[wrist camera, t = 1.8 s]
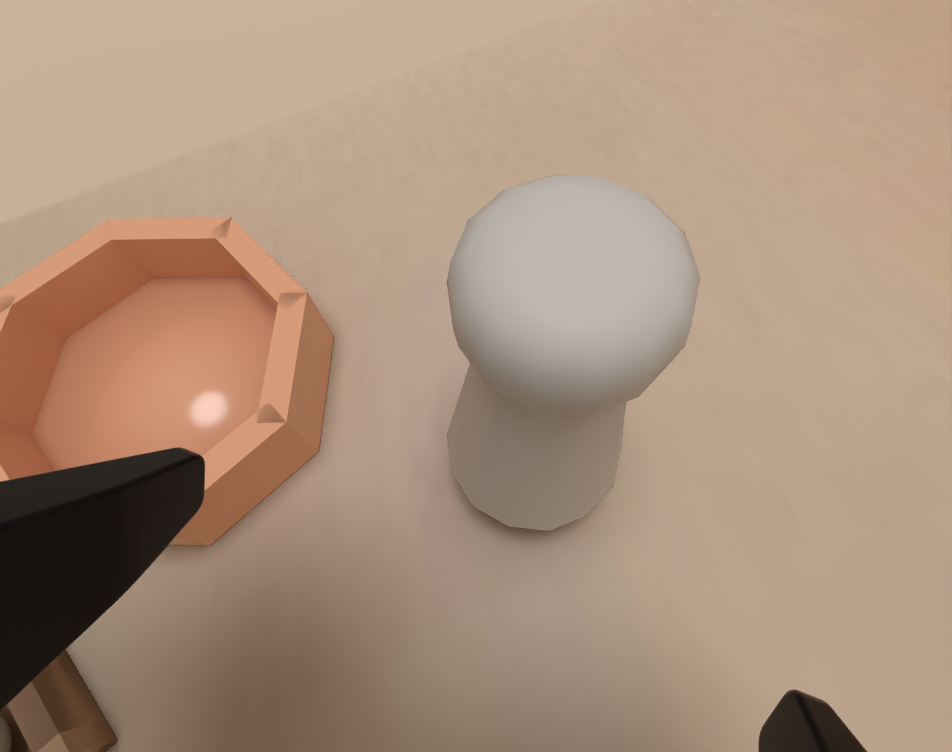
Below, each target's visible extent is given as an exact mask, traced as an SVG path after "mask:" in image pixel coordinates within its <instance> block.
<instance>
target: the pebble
mask: <svg viewBox="0 0 952 752" xmlns="http://www.w3.org/2000/svg"><path fill="white" fill-rule="evenodd" d="M11 747H12V735H11V730H10V727H9V725H8V723H7V722H6V720H5V719H4V718H3V716H2V715H0V752H11Z"/></svg>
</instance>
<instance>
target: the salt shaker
mask: <svg viewBox="0 0 952 752" xmlns="http://www.w3.org/2000/svg"><path fill="white" fill-rule="evenodd" d="M699 280H700V276H699V273H698V270H697V267H696V264H695V261H694V258H693V255H692V252H691V249H690V246H689V243H688V240H687V237H686V234H685V232H684V231H683V230H682V229H681V228H680V227H679V226H678V225H677V224H676V223H675V222H674V221H673V220H672V219H670V218H669V217H668V216H667V215H666V214H665V213H664V212H663V211H662V210H661V209H660V208H659V207H658V206H657V205H656V204H655V203H654V202H653V201H652V200H651V199H650V198H648V197H647V196H645V195H643V194H641V193H639V192H636V191H634V190H632V189H629V188H627V187H625V186H622V185H620V184H617V183H615V182H613V181H610V180H608V179H606V178H603V177H592V176H566V175H554V176H549V177H545V178H542V179H539V180H536V181H532V182H529V183H526V184H522V185H519V186H516V187H512V188H509V189H506V190H503V191H502V192H501V193H500V194H498V195H497V196H496V197H495V198H494V199H493V200H492V201H490V202H489V203H488V204H487V205H486V206H485V207H483V208H482V209H481V210H480V211H479V212H478V213H477V214H475V215H474V216H473V217H472V218H471V219H470V220H468V222H467V225H466V227H465V229H464V232H463V234H462V236H461V238H460V241H459V243H458V245H457V248H456V250H455V252H454V255H453V257H452V259H451V261H450V266H449V273H448V279H447V288H448V295H449V302H450V309H451V316H452V324H453V330H454V334H455V337H456V340H457V343H458V346H459V348H460V349H461V351H462V352H463V353H464V355H465V356H466V358H467V359H468V361H469V362H470V365H469V368H468V371H467V375H466V378H465V381H464V384H463V387H462V390H461V393H460V396H459V399H458V402H457V405H456V408H455V411H454V414H453V417H452V421H451V424H450V427H449V430H448V433H447V439H448V447H449V454H450V462H451V469H452V473H453V475H454V476H455V478H456V479H457V481H458V483H459V484H460V486H461V488H462V489H463V491H464V493H465V494H466V496H467V498H468V499H469V501H470V502H471V504H472V506H474V507H476V508H477V509H479V510H481V511H483V512H484V513H486V514H488V515H489V516H491V517H493V518H495V519H496V520H498V521H500V522H501V523H503V524H505V525H507V526H509V527H518V528H527V529H536V530H544V531H550V530H553V529H555V528H558V527H560V526H562V525H565V524H567V523H570V522H572V521H575V520H577V519H580V518H582V517H585V516H587V515H588V514H589V513H590V512H591V510H592V509H593V508H594V507H595V506H596V505H597V504H598V503H599V501H600V500H601V499H602V498H603V497H604V496H605V495H606V493H607V492H608V491H609V490H610V489H611V488H612V487H613V483H614V479H615V474H616V470H617V465H618V461H619V457H620V452H621V446H622V435H623V425H624V414H625V408H626V401H629V400H632V399H634V398H637V397H639V396H640V395H641V394H642V393H643V391H644V390H645V389H646V388H647V387H648V386H649V385H650V384H651V383H652V382H653V381H654V380H655V379H656V377H657V376H658V375H659V374H660V373H661V372H662V371H663V370H664V369H665V368H666V367H667V366H668V365H669V364H670V362H671V361H672V360H673V359H674V358H675V357H676V356H677V355H678V353H679V352H680V351H681V350H682V349H683V348H684V347H685V344H686V340H687V337H688V334H689V330H690V327H691V323H692V318H693V313H694V307H695V302H696V296H697V291H698V285H699Z"/></svg>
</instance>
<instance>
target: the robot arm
mask: <svg viewBox="0 0 952 752" xmlns="http://www.w3.org/2000/svg"><path fill="white" fill-rule="evenodd" d="M204 493H205V461H204V458H203V457H202V456H201V455H200V454H197V453H195V452H192V451H190V450H187V449H185V448H181V447H176V448H170V449H165V450H160V451H155V452H150V453H144V454H139V455H134V456H129V457H124V458H119V459H113V460H108V461H103V462H98V463H93V464H88V465H83V466H77V467H72V468H67V469H62V470H57V471H52V472H47V473H41V474H36V475H31V476H26V477H21V478H16V479H11V480H5V481H0V711H1V710H2V709H3V708H4V707H5V706H6V705H7V704H8V703H9V702H10V701H11V700H12V699H13V698H14V697H16V696H17V695H18V694H19V693H20V692H21V691H22V690H23V689H24V688H25V687H26V686H27V685H28V684H29V683H30V682H31V681H32V680H34V679H35V678H36V677H37V676H38V675H39V674H40V673H41V672H42V671H43V670H44V669H45V668H46V667H47V666H48V665H49V664H50V663H52V662H53V661H54V660H55V659H56V658H57V657H58V656H59V655H60V654H61V653H62V652H63V651H64V650H65V649H66V648H67V647H68V646H70V645H71V644H72V643H73V642H74V641H75V640H76V639H77V638H78V637H79V636H80V635H81V634H82V633H83V632H84V631H85V630H86V629H88V628H89V627H90V626H91V625H92V624H93V623H94V622H95V621H96V620H97V619H98V618H99V617H100V616H101V615H102V614H103V613H104V612H106V611H107V610H108V609H109V608H110V607H111V606H112V605H113V604H114V603H115V602H116V601H117V600H118V599H119V598H120V597H121V596H122V595H123V594H124V593H125V592H126V591H127V590H128V589H129V588H130V587H131V586H132V585H133V584H134V583H135V582H136V581H137V580H138V579H139V577H140V576H141V575H142V574H143V573H144V572H145V571H146V570H147V568H148V567H149V566H150V565H151V564H152V563H153V562H154V561H155V559H156V558H157V557H158V556H159V555H160V554H161V553H162V552H163V550H164V549H165V548H166V547H167V546H168V545H169V544H170V542H171V541H172V540H173V539H174V538H175V537H176V536H177V535H178V533H179V532H180V531H181V530H182V529H183V528H184V527H185V526H186V524H187V523H188V522H189V521H190V520H191V519H192V518H193V516H194V515H195V514H196V513H197V512H198V510H199V509H200V507H201V505H202V503H203V500H204ZM759 752H867V751H866V750H865V748H864V747H863V746H862V745H861V744H860V742H859V741H858V740H857V739H856V737H855V736H854V735H853V734H852V732H851V731H850V730H849V729H848V727H847V726H846V725H845V724H844V723H843V721H842V720H841V719H840V718H839V716H838V715H837V714H836V713H835V711H834V710H833V709H832V708H831V707H830V706H829V705H828V704H827V703H826V702H825V701H823V700H821V699H819V698H816V697H814V696H811V695H808V694H806V693H803V692H801V691H798V690H790V691H788V692H787V693H786V694H785V695H784V696H783V697H782V699H781V700H780V702H779V703H778V705H777V706H776V708H775V709H774V711H773V712H772V713H771V715H770V716H769V718H768V719H767V721H766V722H765V724H764V725H763V727H762V729H761V732H760V736H759Z"/></svg>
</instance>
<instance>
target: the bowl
mask: <svg viewBox="0 0 952 752" xmlns="http://www.w3.org/2000/svg"><path fill="white" fill-rule="evenodd" d="M333 340H334V337H333V335H332V333H331V332H330V330H329V328H328V327H327V325H326V323H325V322H324V320H323V318H322V317H321V315H320V313H319V312H318V310H317V308H316V307H315V305H314V303H313V302H312V300H311V298H310V297H309V295H308V293H307V292H306V291H305V290H304V289H303V288H302V287H301V286H300V285H299V284H298V283H297V282H296V281H295V280H294V279H293V278H292V277H291V276H290V275H288V274H287V273H286V272H285V271H284V270H283V269H282V268H281V267H280V266H279V265H278V264H277V263H276V262H275V261H274V260H273V259H272V258H271V257H270V256H269V255H268V254H267V253H266V252H265V251H264V250H263V249H262V248H261V247H260V246H259V245H258V244H257V243H256V242H255V241H254V240H253V239H252V238H251V237H250V236H249V235H248V234H247V233H246V232H245V231H244V230H243V229H242V228H241V227H240V226H239V225H238V224H237V223H236V222H235V221H234V220H233V219H232V218H231V217H229V218H165V219H108V220H107V221H105V222H103V223H102V224H100V225H99V226H97V227H96V228H94V229H93V230H91V231H90V232H88V233H86V234H85V235H83V236H82V237H80V238H79V239H77V240H76V241H74V242H73V243H71V244H69V245H68V246H66V247H65V248H63V249H62V250H60V251H59V252H57V253H56V254H54V255H52V256H51V257H49V258H48V259H46V260H45V261H43V262H42V263H40V264H39V265H37V266H35V267H34V268H32V269H31V270H29V271H28V272H26V273H25V274H23V275H21V276H20V277H18V278H17V279H15V280H14V281H12V282H11V283H9V284H8V285H6V286H4V287H3V288H1V289H0V481H5V480H11V479H16V478H21V477H26V476H31V475H36V474H41V473H47V472H52V471H57V470H62V469H67V468H72V467H77V466H83V465H88V464H93V463H98V462H103V461H108V460H113V459H119V458H124V457H129V456H134V455H139V454H144V453H150V452H155V451H160V450H165V449H170V448H176V447H181V448H185V449H187V450H190V451H192V452H195V453H197V454H200V455H201V456H202V457H203V458H204V461H205V493H204V500H203V503H202V505H201V507H200V509H199V510H198V512H197V513H196V514H195V515H194V516H193V518H192V519H191V520H190V521H189V522H188V523H187V524H186V526H185V527H184V528H183V529H182V530H181V531H180V532H179V533H178V535H177V536H176V537H175V538H174V539H173V540H172V541H171V542H170V544H169V545H212V544H213V543H214V542H215V541H216V540H217V539H219V538H220V537H221V536H222V535H223V534H224V533H225V532H227V531H228V530H229V529H230V528H231V527H232V526H233V525H235V524H236V523H237V522H238V521H239V520H240V519H241V518H243V517H244V516H245V515H246V514H247V513H248V512H250V511H251V510H252V509H253V508H254V507H255V506H256V505H258V504H259V503H260V502H261V501H262V500H263V499H264V498H266V497H267V496H268V495H269V494H270V493H271V492H272V491H274V490H275V489H276V488H277V487H278V486H279V485H281V484H282V483H283V482H284V481H285V480H286V479H287V478H289V477H290V476H291V475H292V474H293V473H294V472H295V471H297V470H298V469H299V468H300V467H301V466H302V465H304V464H305V463H306V462H307V461H308V460H309V459H310V458H312V457H313V456H314V455H315V454H316V453H317V452H319V446H320V439H321V431H322V423H323V416H324V408H325V401H326V393H327V385H328V378H329V370H330V363H331V355H332V348H333Z"/></svg>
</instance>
